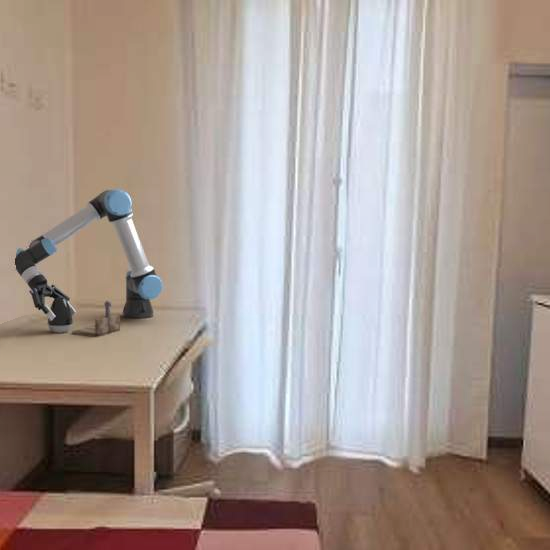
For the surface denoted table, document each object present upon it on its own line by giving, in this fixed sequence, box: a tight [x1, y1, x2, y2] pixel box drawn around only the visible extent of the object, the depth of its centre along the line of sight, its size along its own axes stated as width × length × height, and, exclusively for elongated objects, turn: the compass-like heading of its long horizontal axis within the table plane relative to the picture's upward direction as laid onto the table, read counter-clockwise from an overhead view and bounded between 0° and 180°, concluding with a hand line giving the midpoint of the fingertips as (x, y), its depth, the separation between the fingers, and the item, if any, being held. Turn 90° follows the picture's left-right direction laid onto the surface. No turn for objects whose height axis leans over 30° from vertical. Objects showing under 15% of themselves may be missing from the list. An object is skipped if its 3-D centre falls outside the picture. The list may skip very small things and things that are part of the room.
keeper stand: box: [71, 300, 121, 337], centre depth 277 cm, size 16×14×14 cm
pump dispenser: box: [47, 297, 74, 334], centre depth 276 cm, size 10×10×15 cm
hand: (63, 316), depth 275 cm, fingers open, 13 cm apart
